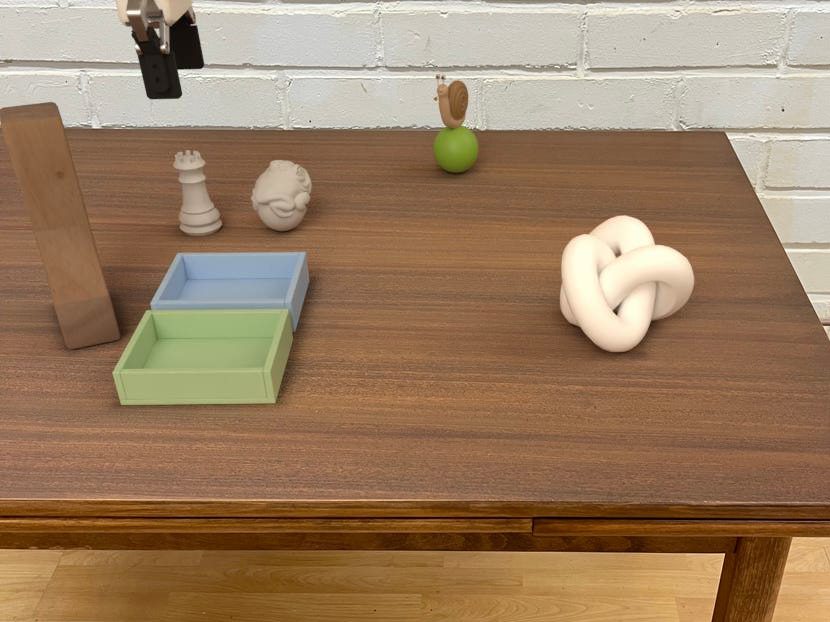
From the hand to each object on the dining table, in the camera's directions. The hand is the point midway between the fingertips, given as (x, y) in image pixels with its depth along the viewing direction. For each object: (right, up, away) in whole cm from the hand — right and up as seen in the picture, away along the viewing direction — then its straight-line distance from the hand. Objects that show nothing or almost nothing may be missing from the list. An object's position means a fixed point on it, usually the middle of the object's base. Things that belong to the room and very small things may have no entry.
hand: (177, 82), depth 93 cm
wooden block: (-6, -25, -7) cm, 26 cm away
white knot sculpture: (+41, -25, -8) cm, 49 cm away
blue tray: (+7, -23, -5) cm, 24 cm away
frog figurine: (+9, -12, +9) cm, 17 cm away
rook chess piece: (0, -12, +9) cm, 15 cm away
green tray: (+7, -30, -14) cm, 33 cm away
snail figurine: (+26, -2, +22) cm, 35 cm away
